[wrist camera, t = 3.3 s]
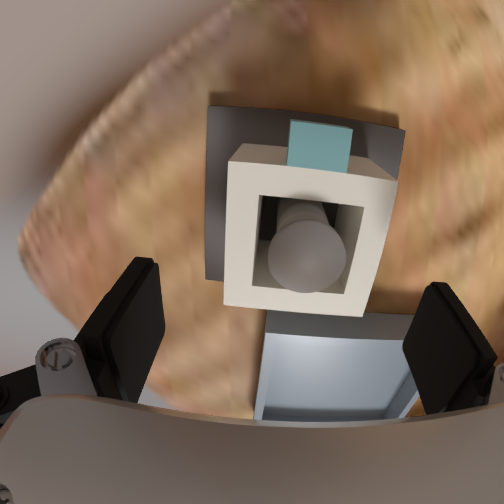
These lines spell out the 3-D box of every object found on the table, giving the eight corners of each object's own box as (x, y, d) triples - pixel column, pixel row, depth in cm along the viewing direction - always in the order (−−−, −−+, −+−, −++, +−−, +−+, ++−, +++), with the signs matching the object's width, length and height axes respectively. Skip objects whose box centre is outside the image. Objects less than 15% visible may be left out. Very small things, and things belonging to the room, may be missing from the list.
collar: (244, 111, 16) (230, 116, 11) (372, 127, 15) (406, 140, 11) (236, 256, 20) (223, 304, 15) (346, 266, 19) (362, 316, 15)
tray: (267, 304, 23) (265, 332, 20) (440, 315, 22) (454, 339, 19) (253, 412, 29) (251, 436, 27) (384, 415, 29) (388, 437, 26)
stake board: (211, 105, 16) (171, 111, 10) (399, 128, 16) (459, 150, 10) (208, 271, 22) (181, 342, 15) (364, 286, 21) (389, 358, 15)
